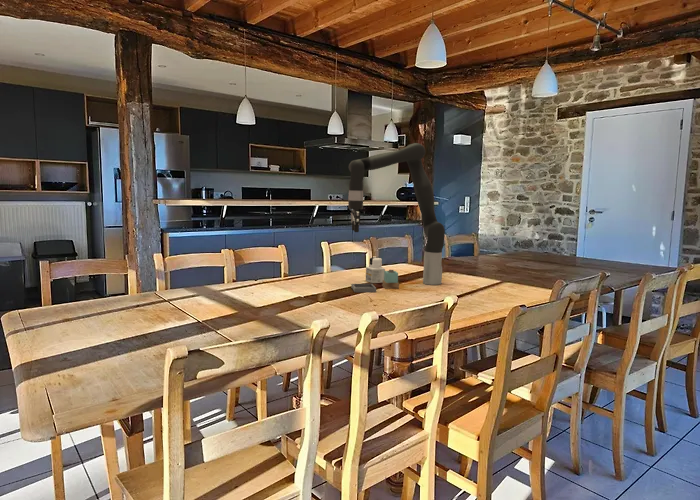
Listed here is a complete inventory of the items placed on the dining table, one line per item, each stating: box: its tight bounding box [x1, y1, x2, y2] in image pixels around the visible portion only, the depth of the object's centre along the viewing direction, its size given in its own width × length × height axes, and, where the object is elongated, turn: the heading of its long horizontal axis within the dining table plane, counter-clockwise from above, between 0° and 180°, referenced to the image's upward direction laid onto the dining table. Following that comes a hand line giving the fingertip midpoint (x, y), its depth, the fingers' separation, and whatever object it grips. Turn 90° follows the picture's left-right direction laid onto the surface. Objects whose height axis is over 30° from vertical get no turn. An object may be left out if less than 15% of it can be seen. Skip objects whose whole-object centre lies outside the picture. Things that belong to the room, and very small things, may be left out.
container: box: [365, 256, 386, 284], centre depth 257 cm, size 8×8×13 cm
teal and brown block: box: [381, 269, 400, 290], centre depth 244 cm, size 7×7×9 cm
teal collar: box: [384, 270, 399, 283], centre depth 244 cm, size 6×6×5 cm
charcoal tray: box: [350, 283, 377, 293], centre depth 237 cm, size 11×11×2 cm
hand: (355, 231), depth 247 cm, fingers open, 8 cm apart
